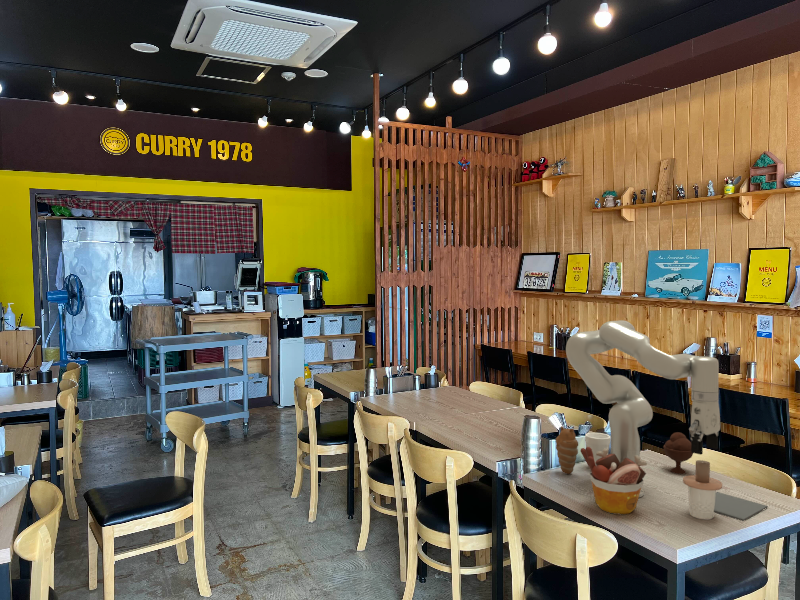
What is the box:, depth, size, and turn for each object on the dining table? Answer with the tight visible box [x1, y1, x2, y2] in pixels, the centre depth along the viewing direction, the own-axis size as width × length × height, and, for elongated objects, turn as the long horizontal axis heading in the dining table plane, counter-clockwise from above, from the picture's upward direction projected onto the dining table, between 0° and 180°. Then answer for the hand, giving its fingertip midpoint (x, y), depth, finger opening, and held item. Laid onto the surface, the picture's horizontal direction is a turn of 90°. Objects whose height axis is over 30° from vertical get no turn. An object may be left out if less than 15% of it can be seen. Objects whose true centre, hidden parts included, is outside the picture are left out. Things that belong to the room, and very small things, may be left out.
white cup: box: [687, 486, 717, 521], centre depth 186 cm, size 8×8×10 cm
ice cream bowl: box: [662, 431, 694, 475], centre depth 228 cm, size 11×11×15 cm
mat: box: [714, 491, 769, 522], centre depth 194 cm, size 18×16×1 cm
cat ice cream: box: [554, 425, 579, 475], centre depth 225 cm, size 9×8×18 cm
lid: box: [682, 459, 723, 491], centre depth 186 cm, size 11×11×7 cm
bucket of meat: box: [580, 447, 648, 515], centre depth 191 cm, size 20×16×20 cm
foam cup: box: [584, 432, 611, 466], centre depth 232 cm, size 10×9×13 cm
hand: (704, 450), depth 185 cm, fingers open, 9 cm apart
